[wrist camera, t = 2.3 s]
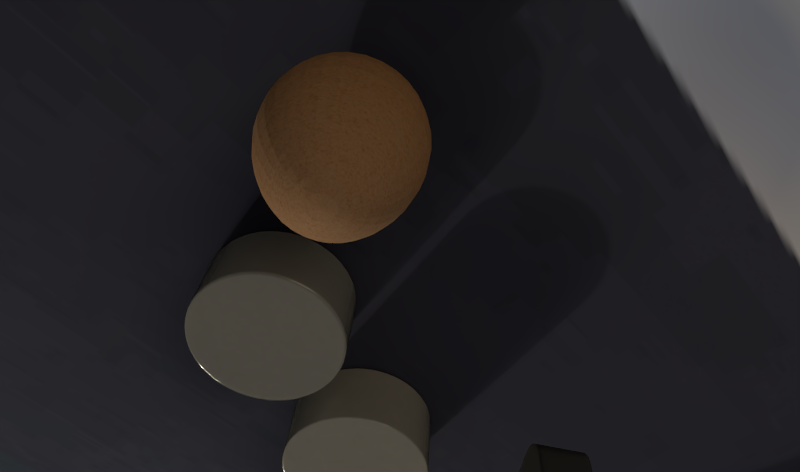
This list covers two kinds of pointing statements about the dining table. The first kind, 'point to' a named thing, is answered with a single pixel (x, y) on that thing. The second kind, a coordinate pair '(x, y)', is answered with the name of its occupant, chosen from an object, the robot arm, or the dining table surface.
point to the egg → (340, 147)
